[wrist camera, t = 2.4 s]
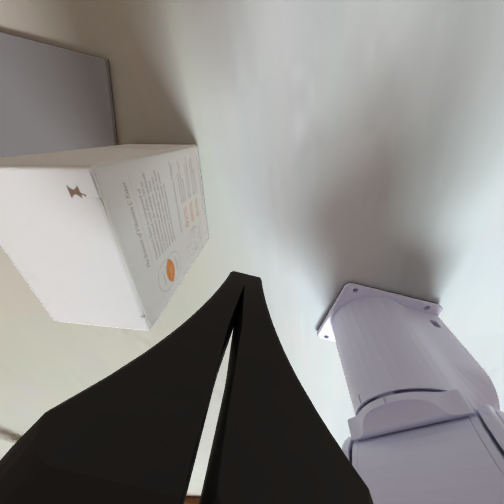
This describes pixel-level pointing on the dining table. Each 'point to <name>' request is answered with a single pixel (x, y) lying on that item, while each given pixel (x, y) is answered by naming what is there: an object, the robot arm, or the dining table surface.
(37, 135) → the mat
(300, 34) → the dining table surface
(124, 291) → the small box
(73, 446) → the robot arm
